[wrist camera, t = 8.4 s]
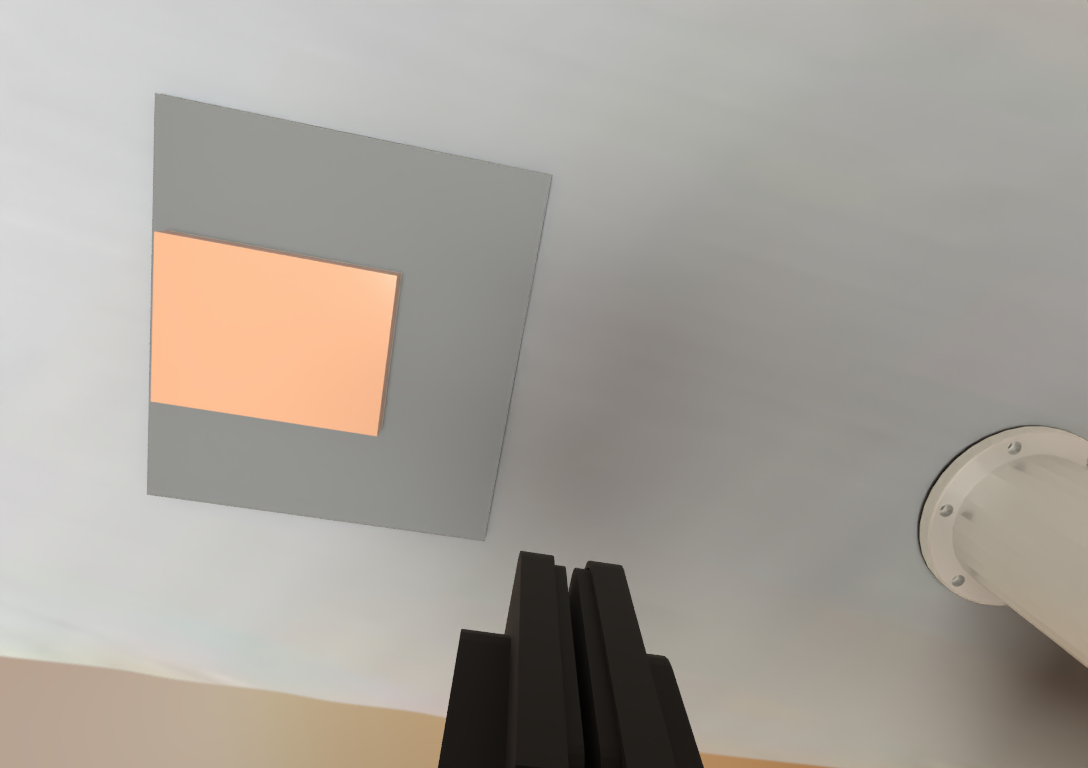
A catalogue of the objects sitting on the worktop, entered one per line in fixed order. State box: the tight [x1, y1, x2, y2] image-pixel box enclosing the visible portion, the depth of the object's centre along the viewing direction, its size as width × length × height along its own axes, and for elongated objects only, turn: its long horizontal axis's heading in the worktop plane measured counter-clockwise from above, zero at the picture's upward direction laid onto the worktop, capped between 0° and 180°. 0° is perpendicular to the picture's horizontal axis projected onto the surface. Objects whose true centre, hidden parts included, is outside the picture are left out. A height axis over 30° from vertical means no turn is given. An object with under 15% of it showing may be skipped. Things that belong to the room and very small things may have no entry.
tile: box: [151, 230, 402, 436], centre depth 33 cm, size 2×9×12 cm
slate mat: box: [147, 93, 552, 541], centre depth 34 cm, size 20×22×1 cm
